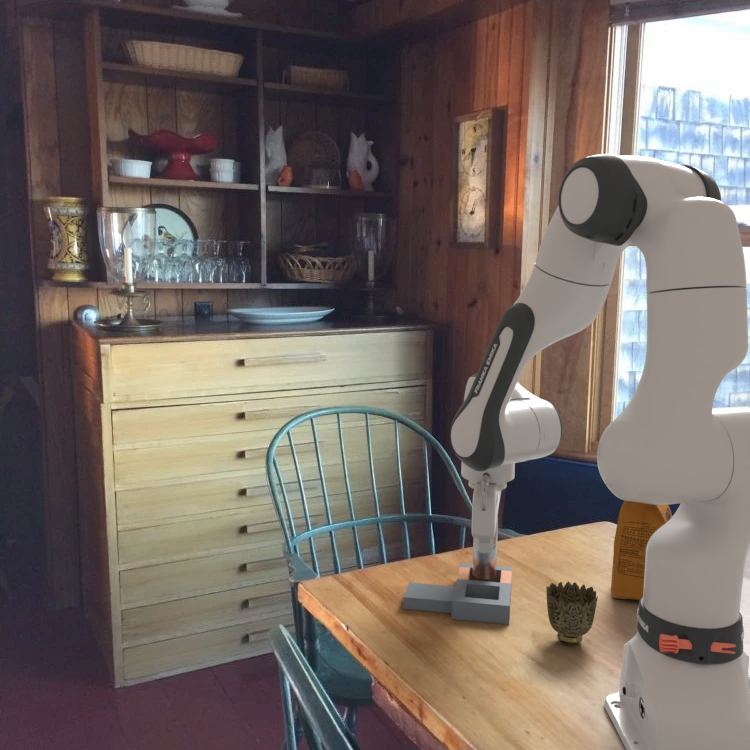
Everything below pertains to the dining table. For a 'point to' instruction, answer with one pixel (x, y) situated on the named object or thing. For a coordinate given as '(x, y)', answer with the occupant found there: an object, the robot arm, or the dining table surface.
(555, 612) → the cup
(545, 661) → the dining table surface
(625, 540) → the coffee package
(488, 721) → the dining table surface
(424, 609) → the rack
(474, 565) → the peg
